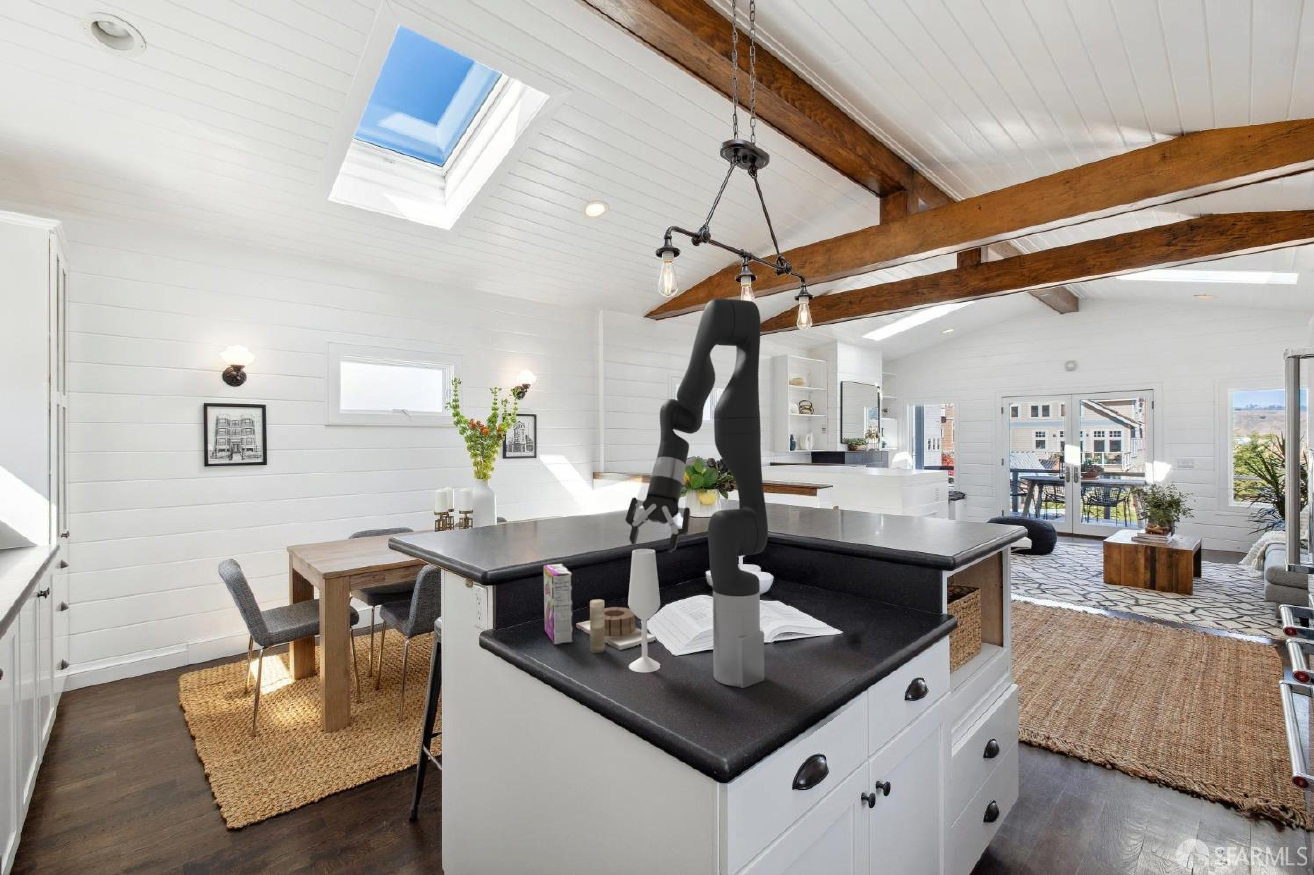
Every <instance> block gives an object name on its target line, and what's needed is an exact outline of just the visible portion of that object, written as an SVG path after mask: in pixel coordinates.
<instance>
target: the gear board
mask: <svg viewBox="0 0 1314 875" xmlns="http://www.w3.org/2000/svg"><path fill="white" fill-rule="evenodd" d="M604 621H605V643H606V644H607V643H608V644H607V645H609V646H611V647H613V648H616V649H617V650H619V651H621V650H625V649H628V648H633V647H635V646H636V645H637V646H640V645H639V644H641V645H642V629H640V628H637V627H636V615H635V614H634V613H633V612H632V611H631V610H630V608H628V607H618V606H613V607H611V606H610V607H606V608H605V607H604ZM575 627H577V629H578V630H580V629H581V631H582V630H583V633H586V634H588V635H590V620H585V621H582V622H577V623H576V626H575ZM654 640H655V641H656V635H654V634H651V633H649V632H647V644H648V643H652V642H655V641H654Z"/></svg>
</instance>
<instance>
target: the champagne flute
mask: <svg viewBox="0 0 1314 875" xmlns="http://www.w3.org/2000/svg"><path fill="white" fill-rule="evenodd" d="M630 564H631V565H630V575H629V576H630V577H629V586H628V587H629V588H628V589H629V590H628V599H627V600H628V601H627V605H628V607H629V608H628V609H630V610H631V611H632V612H633V613H634V614H635V617H637V618H638V619H639V620H641V630H642V644H641V656H640V657H639V658H638V659H635V661H632V662H631V663H629V665H628V669H629V670H631V671H633V672H637V673H652V672H655V671H658V670H659V669H661V667H660V665H661V664H660V663H659V662H658V661H656V660H654V659H652V658H651V657H649V656H648V643H647V633H648V620H649V619H651V618H652V617H653V616H654V615H655V614H656V613H657V611H658V610H659V608H660V607H661V599H660V597H661V596H660V588H659V578H658V568H657V557H656V550H655V549H650V548H638V549H634V550H632V552H631V562H630Z"/></svg>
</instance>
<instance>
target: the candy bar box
mask: <svg viewBox="0 0 1314 875" xmlns="http://www.w3.org/2000/svg"><path fill="white" fill-rule="evenodd" d="M572 583H573V574H572V572H571V571H570V570H569V569H568V568H567V567H566V566H565V565H564V564H563V563H556V564H555V563H554V564H545V565H543V594H544V595H543V596H544V597H543V599H544V600H543V601H544V602H543V603H544V604H543V605H544V606H543V607H544V608H543V609H544V632H545V633H546V635H547V636H548V638H549V639H550V640H551V643H552V644H553V645H562V643H564V644H568V643H570V644H571V643H573V642H574V637H573V636H574V635H573V634H574V631H573V630H574V624H573V621H574V620H573V585H572Z"/></svg>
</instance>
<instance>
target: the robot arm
mask: <svg viewBox="0 0 1314 875" xmlns="http://www.w3.org/2000/svg"><path fill="white" fill-rule="evenodd" d="M761 324H762V323H761V314H760V309H759V307H758V306H757V304H756V303H755V302H754V301H751V300H745V299H744V300H743V299H733V298H714V299H713V298H712V299H711V300H709V301H708V302H707V304H706V305H705V307H704V309H703V312H702V314H701V317H700V320H699V324H698V327H697V331H696V336H695V339H694V342H693V346H692V352H691V354H690V355H691V356H690V359H689V363H688V365H687V369H686V372H685V374H684V376H683V378H682V380H681V382H680V384H679V386H678V389H677V392H676V399H674V398H668V399H667V400H665V401H664V402H663V403H662V405H661V407H660V409H659V410H660V411H659V424H660V425H659V426H660V443H659V447H658V450H657V456H656V459H655V462H654V465H653V468H652V472H651V475H650V480H649V485H648V490H647V493H646V496H645V497H646V498H645V499H643V500H640V499H637V498H636V497H632V498H631V500H630V503H629V507H628V509H627V513H626V517H625V522H626V524H627V525H629V526H631V529H630V534H629V537H628V538H629V541H630V543H631V545H633V546H636V544H637V540H638V536H639V533H640V529H639V528H640V527H641V526H642V525H644V524H646V523H648V521H651V522H652V523H659V524H662V525H665V524H667V523H668V526H669V527H670V530H671V531H672V534H671V535H670V539H669V545H668V549H667V552H668V553H673V551H676V549H677V545H678V540H679V537H681V536H684V537H685V536H688V534H689V527H690V518H691V512H692V511H691V509H690V508H689V507H684V508H683V507H679V503H680V498H681V492H682V488H683V484H684V482H685V479H684V478H685V473H686V465H687V461H688V460H687V459H688V456H689V451H690V444H689V442H688V441H687V440H686V439H684V437H683V438H682V437H681V436H679V435H678V434H676V433H675V431H678V432H681V433H684V434H690V435H691V434H695V433H697V432H698V431H699V430H700V429H701V428H702V424H703V418H704V408H705V404H706V402H707V400H708V398H709V396H710V394H711V392H712V390H713V388H714V386H715V383H716V372H715V367H714V364H713V361H712V358H711V353H712V350H713V349H714V348H715V346H724V347H725V346H729V347H730V346H731V347H736V358H735V365H734V370H733V372H732V375H731V377H730V379H729V381H728V383H727V384H726V386H725V388H724V390H723V392H722V393H721V395H720V397H719V399H718V401H717V403H716V405H715V407H714V410H713V427H714V428H713V432H714V433H713V434H714V437H713V438H714V444H715V448H716V450H717V452H718V454H719V456H720V457H721V459H722V460H723V462H724V464H725V467H727V468H728V471H729V472H730V474H731V476H732V478H733V479H734V480H733V481H734V482H735V485H736V488H737V494H738V504H739V505H738V506H739V508H736V509H735V508H734V509H723V510H722V509H721V510H717V511H715V512H713V513H712V515H711V517H710V518H709V522H708V525H707V526H708V528H707V538H708V539H707V540H708V556H709V571H710V572H709V573H710V577H711V582H712V634H713V635H712V643H713V644H712V650H713V651H712V652H713V654H712V655H713V656H712V658H713V659H712V660H713V668H712V669H713V679H715V680H716V681H717V682H718V683H721V684H722V685H727V686H731V687H738V688H741V689H744V688H747V687H750V686H752V685H756V684H758V683H760V682H764V681H765V633H764V631H763V630H761V618H760V617H761V613H760V612H761V611H760V610H761V609H760V608H761V607H760V606H761V600H760V598H761V594H760V593H761V592H760V591H761V590H760V588H761V587H760V586H761V585H760V583H761V582H760V579H759V576H758V575H757V574H754V573H752V572H749V571H746V570H742V569H741V568H740V566H739V562H738V557H743V556H751V555H758V554H760V553H762V552H763V551H764V550H765V548H766V546H767V543H768V538H769V536H768V535H769V526H768V525H769V523H768V515H767V508H766V501H765V500H766V499H765V492H764V491H765V490H764V484H763V482H764V481H763V472H762V471H763V470H762V451H761V450H762V449H761V448H762V447H761V445H762V444H761V443H762V442H761V439H762V438H761V437H762V436H761V429H762V428H761V412H760V390H759V389H760V388H759V371H760V370H759V369H760V367H759V366H760V350H761V349H760V348H761V330H762V329H761ZM674 430H675V431H674ZM640 507H642V508H643V509H644V511H643V512H642V513H640V515H639V516H638V517H637V518H636V519H635V514H636V512H637V510H639V509H641V508H640ZM678 514H680V517H681V518H682V525H681V528H678V527H677V525H676V523H675V521H674V518H675V516H677V515H678ZM634 519H635V520H634Z"/></svg>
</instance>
